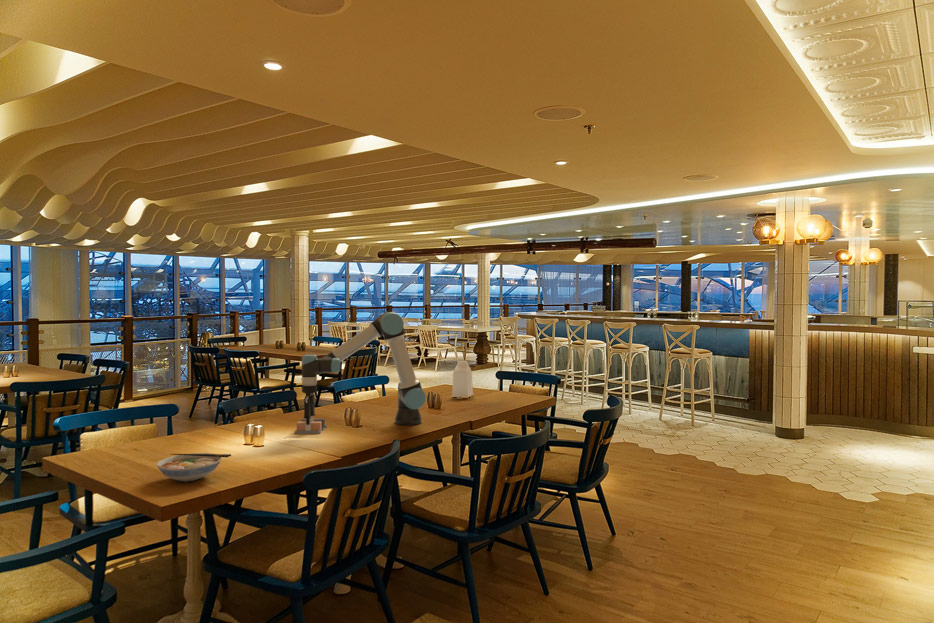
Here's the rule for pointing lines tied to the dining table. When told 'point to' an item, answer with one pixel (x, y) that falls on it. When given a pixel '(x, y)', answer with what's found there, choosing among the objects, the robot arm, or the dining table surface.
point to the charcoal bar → (318, 420)
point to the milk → (462, 380)
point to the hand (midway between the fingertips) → (309, 429)
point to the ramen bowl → (189, 465)
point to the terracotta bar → (314, 426)
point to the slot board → (310, 431)
